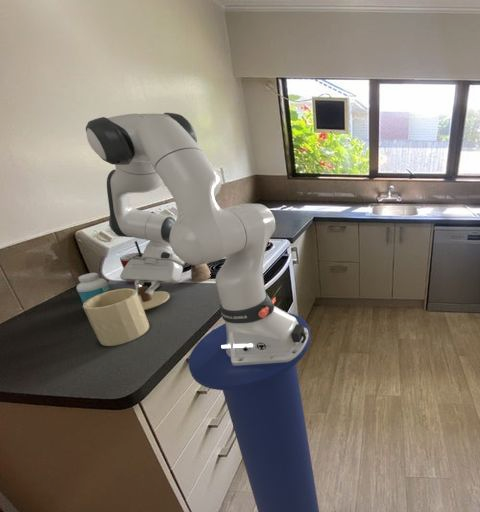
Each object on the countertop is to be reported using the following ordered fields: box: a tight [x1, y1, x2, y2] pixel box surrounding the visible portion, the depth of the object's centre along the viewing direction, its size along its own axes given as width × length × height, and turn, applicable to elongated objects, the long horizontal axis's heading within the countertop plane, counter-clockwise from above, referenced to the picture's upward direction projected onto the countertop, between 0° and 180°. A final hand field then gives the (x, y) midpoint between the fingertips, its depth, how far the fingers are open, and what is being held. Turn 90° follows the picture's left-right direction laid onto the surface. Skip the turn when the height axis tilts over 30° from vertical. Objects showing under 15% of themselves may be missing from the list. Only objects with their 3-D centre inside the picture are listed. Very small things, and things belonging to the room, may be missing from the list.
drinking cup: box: [129, 240, 161, 292], centre depth 110 cm, size 8×8×20 cm
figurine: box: [188, 263, 212, 283], centre depth 121 cm, size 7×7×12 cm
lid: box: [138, 286, 171, 311], centre depth 100 cm, size 13×13×6 cm
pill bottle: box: [76, 272, 112, 304], centre depth 97 cm, size 8×7×14 cm
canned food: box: [119, 252, 143, 285], centre depth 120 cm, size 8×8×11 cm
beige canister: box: [82, 287, 150, 347], centre depth 85 cm, size 12×12×12 cm
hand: (143, 293), depth 100 cm, fingers closed on lid, 2 cm apart
